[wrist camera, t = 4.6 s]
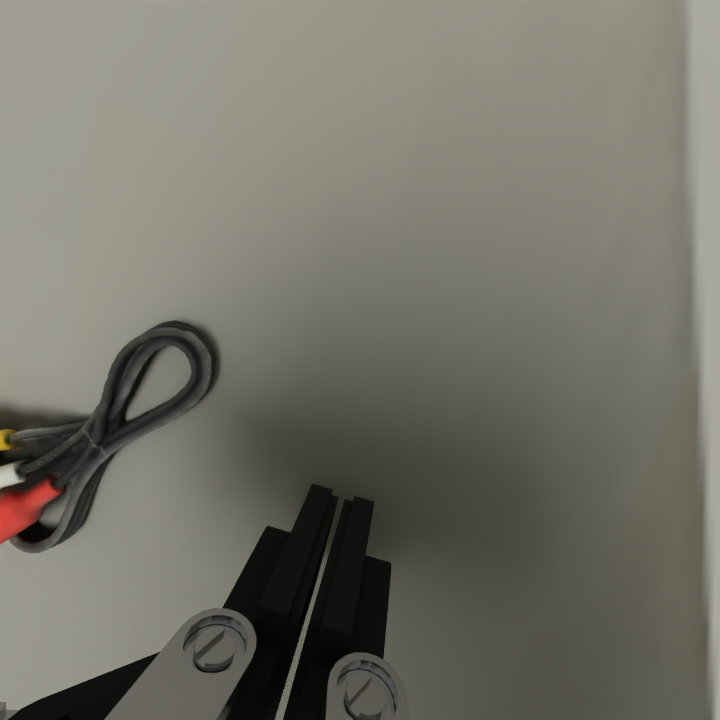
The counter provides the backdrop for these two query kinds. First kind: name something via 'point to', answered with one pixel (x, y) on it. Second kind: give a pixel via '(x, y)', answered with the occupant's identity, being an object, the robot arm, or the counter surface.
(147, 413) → the composite cable
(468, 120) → the counter surface
